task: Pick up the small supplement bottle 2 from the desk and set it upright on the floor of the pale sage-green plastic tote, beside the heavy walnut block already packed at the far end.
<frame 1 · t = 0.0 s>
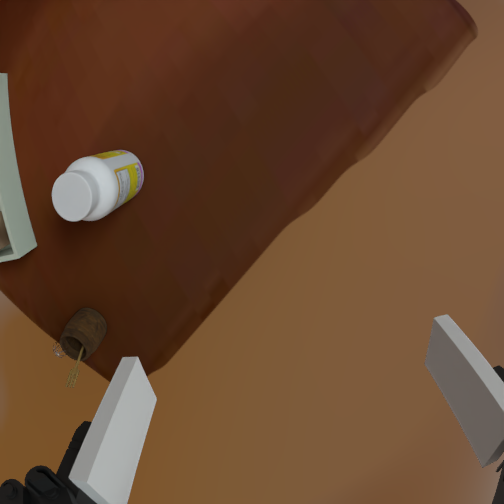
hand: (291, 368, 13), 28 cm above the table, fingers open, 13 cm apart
supplement bottle: (122, 175, 37), on the table
utensil holder: (92, 322, 46), on the table
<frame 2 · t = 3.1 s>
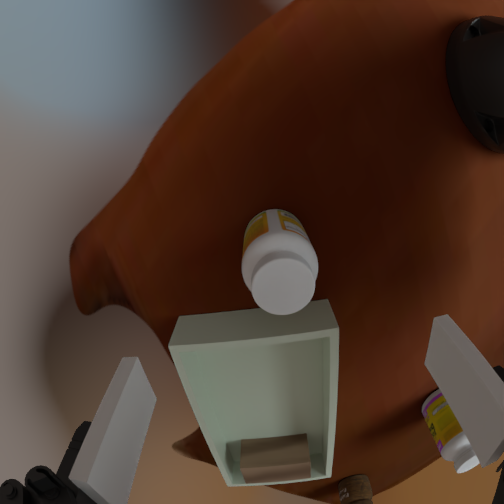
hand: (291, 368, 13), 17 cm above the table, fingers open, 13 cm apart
walnut block: (275, 446, 39), point 1 cm above the table, touching tote
tote: (268, 402, 36), on the table
supplement bottle: (439, 398, 37), on the table
supplement bottle 2: (274, 236, 29), on the table
utensil holder: (352, 480, 46), on the table
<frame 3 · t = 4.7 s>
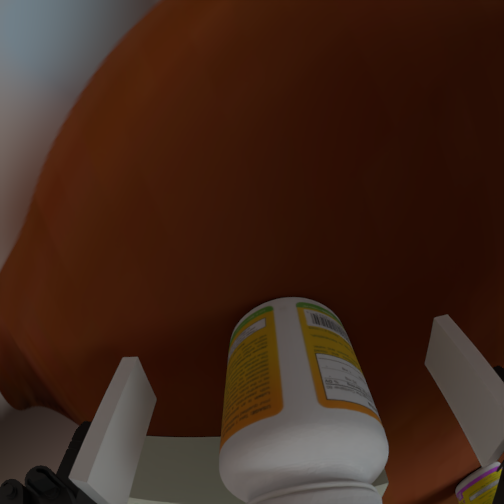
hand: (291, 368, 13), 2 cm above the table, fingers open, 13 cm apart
supplement bottle: (476, 474, 23), on the table
supplement bottle 2: (287, 341, 15), on the table
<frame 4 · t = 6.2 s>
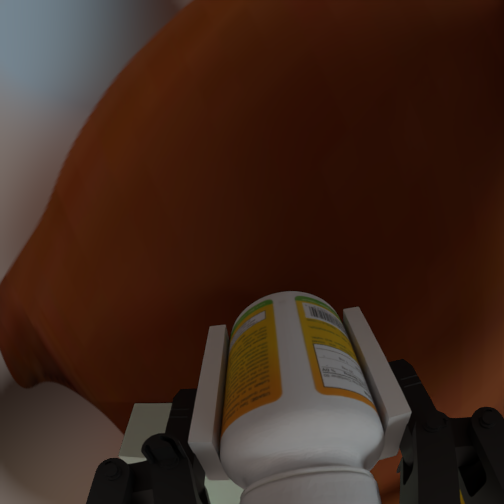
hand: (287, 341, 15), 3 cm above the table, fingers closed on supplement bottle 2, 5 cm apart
tote: (259, 484, 25), on the table
supplement bottle 2: (286, 334, 15), point 3 cm above the table, touching gripper
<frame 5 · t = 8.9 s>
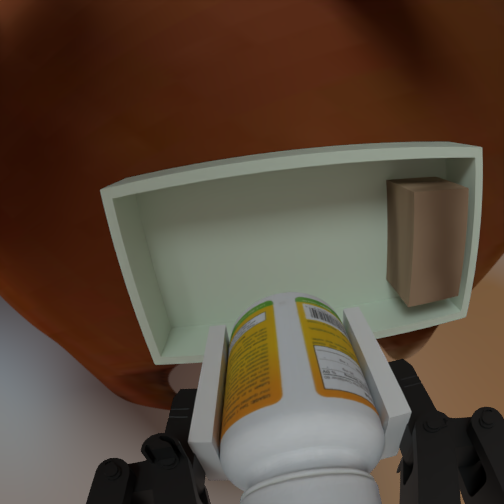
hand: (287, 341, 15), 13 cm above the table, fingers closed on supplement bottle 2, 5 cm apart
walnut block: (412, 228, 25), point 1 cm above the table, touching tote
tote: (307, 240, 26), on the table
supplement bottle 2: (286, 335, 15), point 12 cm above the table, touching gripper
when the fingers open (2 cm above the table, at t = 11.4 s): supplement bottle 2 drops 1 cm, resting on tote.
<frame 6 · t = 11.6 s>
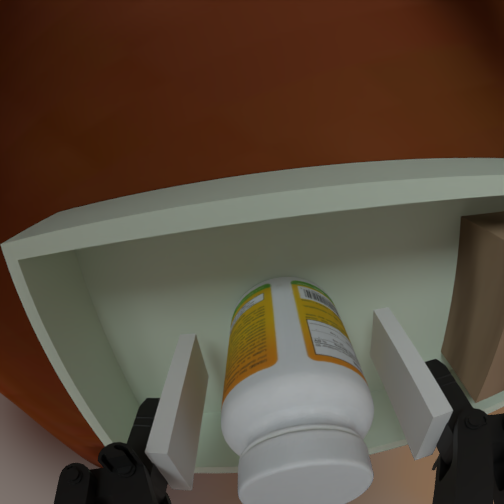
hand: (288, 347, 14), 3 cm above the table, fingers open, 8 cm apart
walnut block: (483, 284, 15), point 1 cm above the table, touching tote
tote: (338, 307, 17), on the table
supplement bottle 2: (284, 319, 16), resting on tote
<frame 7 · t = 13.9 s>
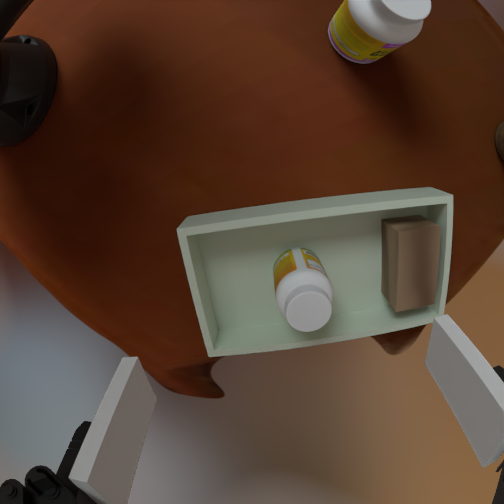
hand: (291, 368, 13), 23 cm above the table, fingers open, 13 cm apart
walnut block: (400, 254, 35), point 1 cm above the table, touching tote
tote: (322, 263, 36), on the table
supplement bottle: (356, 38, 27), on the table
supplement bottle 2: (296, 267, 36), resting on tote
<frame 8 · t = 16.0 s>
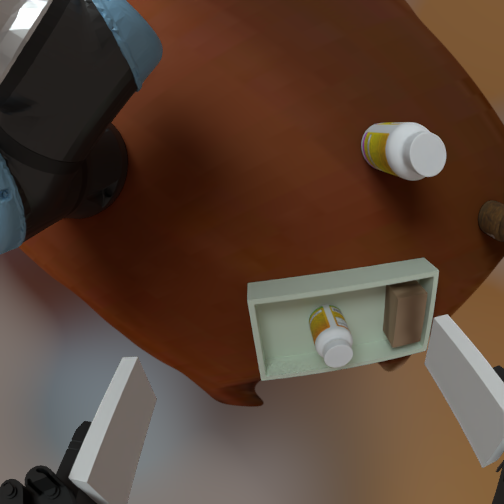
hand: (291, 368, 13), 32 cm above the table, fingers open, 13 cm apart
walnut block: (398, 305, 48), point 1 cm above the table, touching tote
tote: (342, 312, 49), on the table
supplement bottle: (381, 146, 40), on the table
supplement bottle 2: (324, 316, 48), resting on tote
utensil holder: (488, 216, 43), on the table
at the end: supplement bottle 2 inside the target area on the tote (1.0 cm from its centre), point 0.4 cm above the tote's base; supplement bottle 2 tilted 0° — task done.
